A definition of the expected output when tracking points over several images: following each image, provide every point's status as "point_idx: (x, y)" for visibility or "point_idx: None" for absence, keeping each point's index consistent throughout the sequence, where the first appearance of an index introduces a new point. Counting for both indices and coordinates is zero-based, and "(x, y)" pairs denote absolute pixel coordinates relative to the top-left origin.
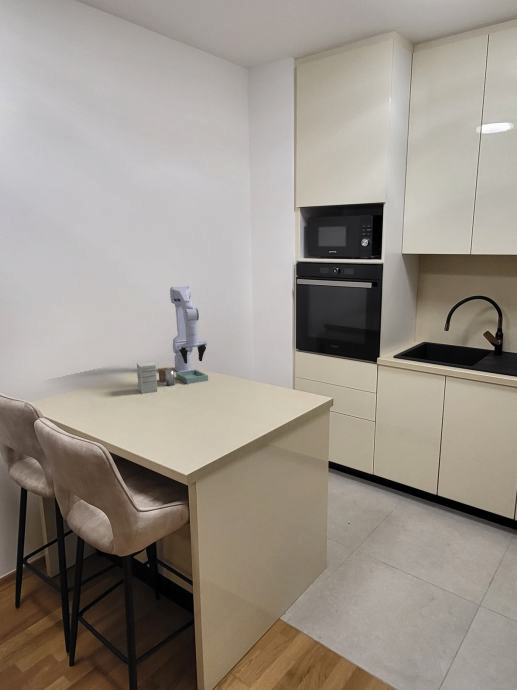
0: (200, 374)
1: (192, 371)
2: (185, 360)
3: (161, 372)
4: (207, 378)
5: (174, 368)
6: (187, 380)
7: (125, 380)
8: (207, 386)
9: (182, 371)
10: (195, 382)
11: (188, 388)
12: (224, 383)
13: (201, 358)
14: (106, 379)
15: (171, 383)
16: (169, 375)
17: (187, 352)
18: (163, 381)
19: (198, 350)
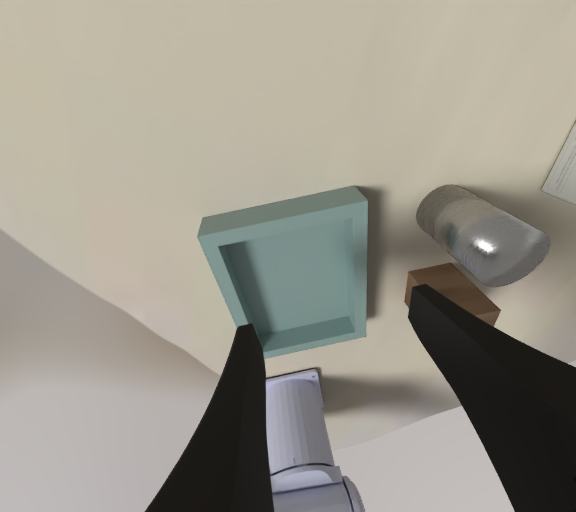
0: (241, 297)
1: (275, 344)
2: (457, 308)
3: (491, 301)
4: (205, 223)
5: (321, 403)
6: (359, 195)
7: (535, 326)
8: (229, 44)
9: (329, 344)
10: (295, 198)
11: (391, 59)
12: (57, 77)
13: (243, 349)
14: (566, 348)
15: (458, 191)
16: (511, 216)
17: (285, 485)
18: (445, 267)
19: (268, 488)
